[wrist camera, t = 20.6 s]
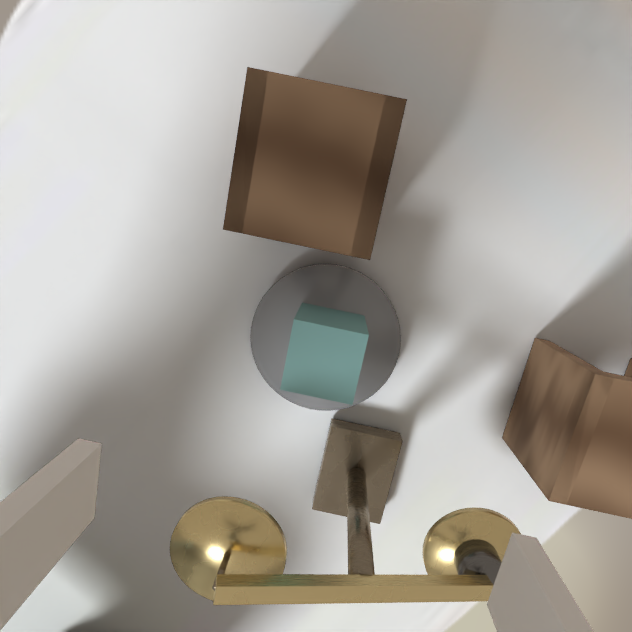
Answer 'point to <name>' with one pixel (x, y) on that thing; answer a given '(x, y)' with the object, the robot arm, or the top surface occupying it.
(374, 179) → the cover
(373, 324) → the dish
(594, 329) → the top surface
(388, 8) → the top surface
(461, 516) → the balance
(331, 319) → the block
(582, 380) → the cover
